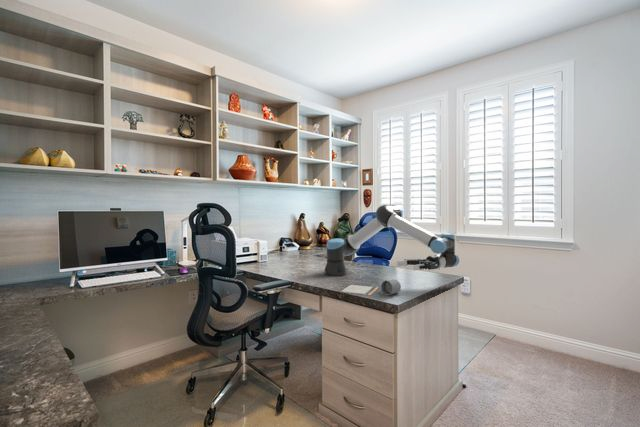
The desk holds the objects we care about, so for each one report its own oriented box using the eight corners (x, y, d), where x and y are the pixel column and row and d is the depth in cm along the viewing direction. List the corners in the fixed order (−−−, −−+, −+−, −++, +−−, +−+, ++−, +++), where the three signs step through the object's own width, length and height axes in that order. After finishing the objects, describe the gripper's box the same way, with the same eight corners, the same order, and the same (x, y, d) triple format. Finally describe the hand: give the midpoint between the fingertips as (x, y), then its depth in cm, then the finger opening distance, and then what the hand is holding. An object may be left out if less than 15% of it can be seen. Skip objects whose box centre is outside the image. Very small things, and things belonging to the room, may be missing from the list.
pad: (350, 285, 190) (350, 284, 190) (372, 287, 184) (372, 286, 184) (341, 292, 176) (341, 291, 176) (364, 294, 171) (364, 293, 171)
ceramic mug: (402, 293, 172) (401, 279, 172) (392, 296, 166) (392, 281, 166) (385, 290, 180) (385, 276, 180) (376, 293, 174) (375, 278, 174)
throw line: (376, 287, 184) (376, 287, 184) (378, 288, 184) (378, 287, 184) (367, 295, 169) (367, 294, 169) (370, 295, 168) (370, 295, 168)
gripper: (452, 272, 174) (421, 276, 165) (419, 265, 196) (390, 268, 187) (452, 258, 173) (421, 262, 164) (419, 252, 196) (390, 255, 187)
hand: (405, 265), depth 176 cm, fingers open, 13 cm apart
